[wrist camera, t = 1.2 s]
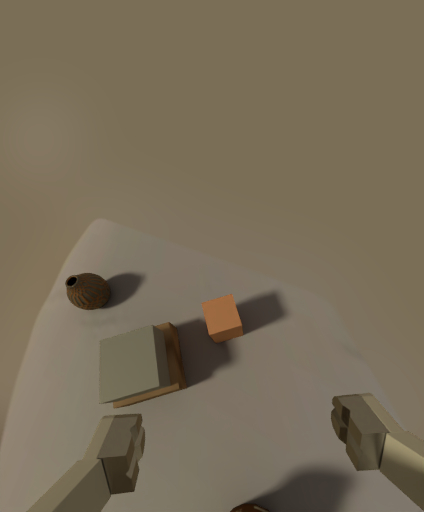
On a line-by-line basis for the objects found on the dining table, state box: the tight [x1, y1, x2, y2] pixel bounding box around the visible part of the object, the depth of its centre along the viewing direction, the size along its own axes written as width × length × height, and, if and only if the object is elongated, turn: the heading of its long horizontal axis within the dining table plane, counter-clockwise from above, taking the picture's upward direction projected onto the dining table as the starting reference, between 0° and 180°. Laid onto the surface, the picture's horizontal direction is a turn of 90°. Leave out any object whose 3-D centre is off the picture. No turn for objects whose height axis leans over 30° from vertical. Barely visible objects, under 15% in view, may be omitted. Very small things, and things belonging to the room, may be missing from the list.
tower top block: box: [99, 325, 171, 404], centre depth 33 cm, size 8×8×5 cm
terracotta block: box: [202, 294, 243, 343], centre depth 37 cm, size 5×5×8 cm
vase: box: [65, 273, 110, 310], centre depth 44 cm, size 7×7×9 cm
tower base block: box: [113, 322, 187, 408], centre depth 37 cm, size 10×10×5 cm
